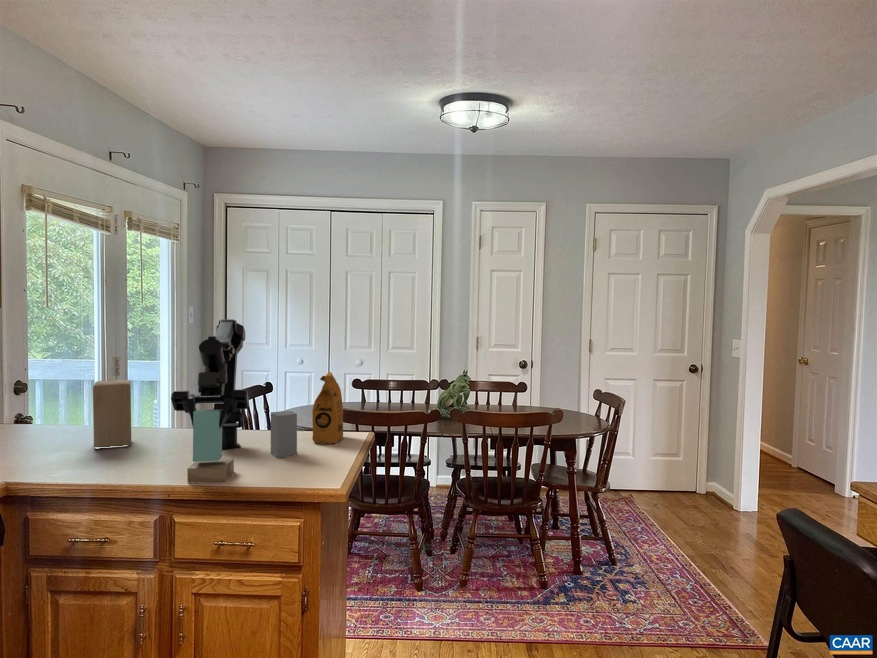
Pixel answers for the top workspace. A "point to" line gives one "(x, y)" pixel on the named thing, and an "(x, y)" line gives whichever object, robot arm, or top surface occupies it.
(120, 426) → the block
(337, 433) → the coffee package
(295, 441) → the grey rectangular pillar
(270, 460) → the top surface
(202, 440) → the teal pillar
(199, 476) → the taupe square slab
